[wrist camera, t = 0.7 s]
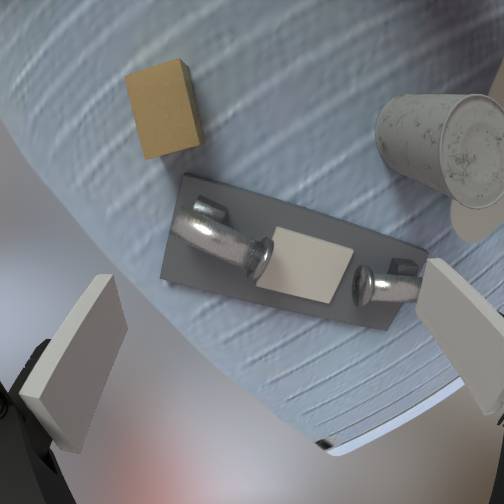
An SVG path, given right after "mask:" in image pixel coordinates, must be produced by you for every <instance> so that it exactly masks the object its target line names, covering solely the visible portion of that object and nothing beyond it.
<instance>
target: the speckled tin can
mask: <svg viewBox="0 0 504 504" xmlns="http://www.w3.org/2000/svg"><path fill="white" fill-rule="evenodd" d="M375 136H376V143H377V147H378V150H379V153H380V155H381V157H382V158H383V160H384V162H385V163H386V164H387V165H388V166H389V167H390V168H391V169H392V170H394V171H395V172H397V173H398V174H401V175H403V176H407V177H409V178H411V179H413V180H416V181H418V182H420V183H422V184H424V185H426V186H428V187H430V188H432V189H434V190H436V191H438V192H440V193H442V194H444V195H446V196H448V197H450V198H452V199H454V200H456V201H458V202H459V203H460V204H461V205H463V206H466V207H468V208H471V209H483V208H487V207H489V206H491V205H493V204H495V203H496V202H497V201H498V200H499V199H500V198H501V197H502V196H503V195H504V109H503V108H502V107H501V105H500V104H499V103H497V102H496V101H495V100H493V99H492V98H491V97H488V96H485V95H483V94H470V95H457V94H421V95H414V94H402V95H399V96H397V97H394V98H393V99H391V100H390V101H389V102H388V103H387V104H386V105H385V106H384V107H383V108H382V110H381V112H380V114H379V116H378V120H377V123H376V134H375Z"/></svg>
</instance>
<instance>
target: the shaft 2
mask: <svg viewBox="0 0 504 504" xmlns="http://www.w3.org/2000/svg"><path fill="white" fill-rule="evenodd" d="M419 268H420V267H419V266H418V265H417V264H416V263H415V262H414V261H413V260H410V259H401V258H393V257H392V260H391V263H390V266H389V269H388V272H387V274H381V273H373V271H372V269H371V268H370V267H369V266H366V265H360V266H359V267H358V268H357V269H356V271H355V273H354V276H353V281H352V298H353V302H354V304H355V305H356V306H357V307H366V306H367V305H368V304H369V303H370V301H385V302H407V303H417V301H418V297H419V293H420V289H421V285H422V281H423V277H416V276H417V274H418V271H419Z"/></svg>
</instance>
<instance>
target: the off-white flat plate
mask: <svg viewBox="0 0 504 504" xmlns="http://www.w3.org/2000/svg"><path fill="white" fill-rule="evenodd" d="M272 239H273V240H274V249H273V253H272V256H271V259H270V261H269V263H268V266H267V267H266V269H265V271H264V273H263V274H262V276H261V277H260V278H259V279H258V280H257V281H256V286H258V287H262V288H266V289H270V290H274V291H278V292H282V293H286V294H290V295H295V296H299V297H303V298H307V299H311V300H316V301H320V302H324V303H330V301H331V299H332V297H333V295H334V293H335V291H336V289H337V287H338V284H339V282H340V280H341V278H342V276H343V274H344V272H345V270H346V267H347V265H348V263H349V261H350V259H351V257H352V254H353V252H354V251H353V249H351V248H347V247H344V246H341V245H338V244H334V243H331V242H328V241H324V240H321V239H318V238H314V237H311V236H308V235H304V234H301V233H298V232H294V231H291V230H288V229H284V228H281V227H277V226H276V229H275V232H274V235H273V237H272Z"/></svg>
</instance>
